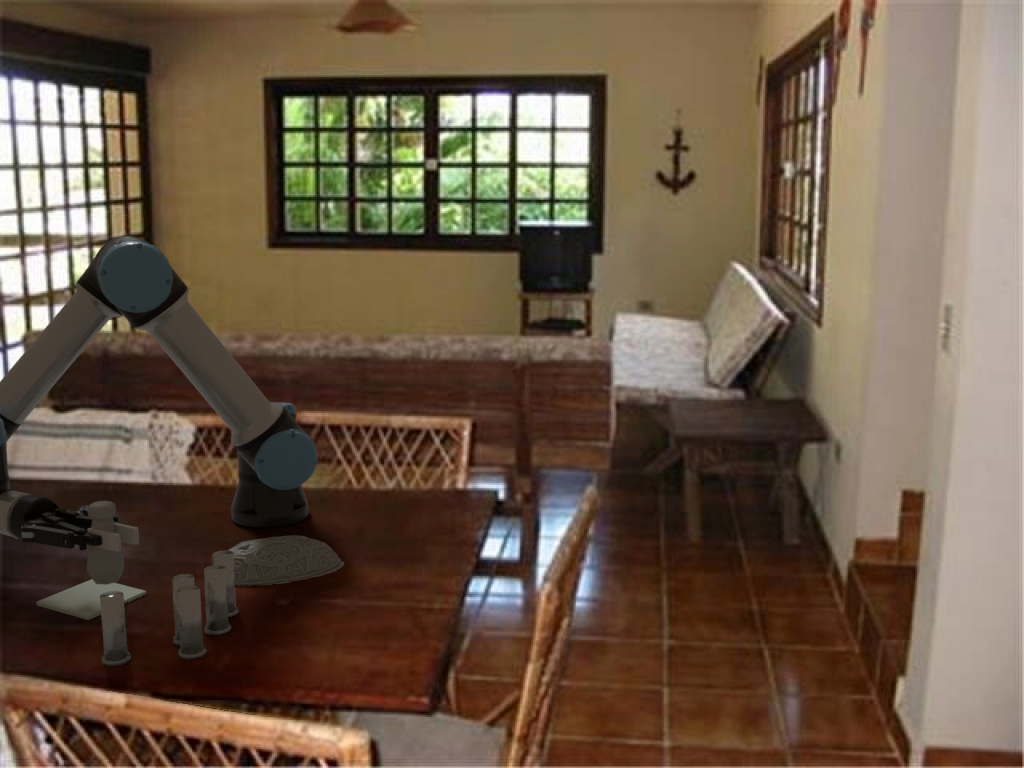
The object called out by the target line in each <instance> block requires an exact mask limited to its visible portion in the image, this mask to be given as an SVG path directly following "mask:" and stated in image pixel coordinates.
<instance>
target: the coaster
mask: <svg viewBox="0 0 1024 768" xmlns="http://www.w3.org/2000/svg"><path fill="white" fill-rule="evenodd" d="M110 591H120V592H122V593H123V595H124V605H126V604H128V603H130V602H133V601H135V600H137V599H139V598H141V597H143V595H144V596H146V595H147V591H146V590H144V589H139V588H136V587H132V586H129V585H125V584H121V583H118V582H114V583H111V584H107V585H104V584H96V583H95V582H94V581H93V579H92V578H91V579H88V580H87V581H85V582H82V583H79V584H76V585H75V586H72V587H70V588H67V589H64V590H63V591H59V592H57V593H54V594H52V595H50V596H47V597H45V598H42V599H40V600H38V601H35V602H36V606H37V607H38V606H39V607H42V608H44V609H49V610H52V611H55V612H58V613H63V614H66V615H70V616H73V617H76V618H81V619H83V620H87V621H89V620H92V619H94V618H96V617H98V616H101V606H100V595H101V594H103V593H106V592H110ZM145 594H146V595H145ZM138 597H139V598H138ZM136 598H137V599H136ZM134 599H135V600H134ZM127 602H128V603H127ZM125 603H126V604H125Z"/></svg>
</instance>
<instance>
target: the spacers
mask: <svg viewBox="0 0 1024 768" xmlns="http://www.w3.org/2000/svg"><path fill="white" fill-rule="evenodd" d="M211 556H212V565H210V566H207V567H205V568H203V580H204V599H205V601H204V602H205V615H206V618H205V619H206V625H205V626H204V627H203V618H202V615H203V614H202V601H201V587H199V586H198V585H196V583H195V576H194V575H193V574H190V573H182V574H177V575H174V576H173V577H172V578H171V581H172V583H171V585H172V601H173V603H172V604H173V614H174V615H173V617H174V630H175V631H174V633H175V635H174V636H173V638H172V643H173V645H174V646H178V647H180V648H179V649H178V651H177V655H178V658H179V659H181V660H183V661H184V660H186V661H192V660H191V659H194V660H197V659H196V658H198V659H200V658H199V657H201V656H203V655H204V654H206V655H207V653H206V652H207V647H206V646H205V645H204V637H203V636H204V634H205V633H206V634H205V635H207V634H208V635H207V636H210V635H220V634H224V633H227V632H229V631H230V630H231V631H232V624H231V623H229V618H228V617H231V618H233V617H232V616H234V615H236V616H238V615H239V614H238V612H239V613H240V611H239V610H240V609H239V607H238V606H237V599H236V598H237V597H236V586H235V577H234V558H233V552H232V551H228V550H226V549H225V550H218V551H215V552H213V553H212V555H211ZM100 606H101V615H100V619H101V630H102V641H103V642H102V643H103V644H102V645H103V655H102V657H101V664H102V665H103V666H106V667H118V666H123V665H126V664H128V663H129V662H130V661H131V659H132V655H131V652H129V651H128V637H127V625H126V611H125V604H124V595H123V593H122V592H120V591H110V592H106V593H103V594H101V595H100ZM237 614H238V615H237ZM234 617H235V616H234ZM203 628H204V629H203ZM203 630H204V634H203ZM231 631H230V632H231ZM230 632H229V633H230ZM227 634H228V633H227ZM224 635H225V634H224ZM220 636H221V635H220ZM203 657H204V656H203ZM201 658H202V657H201ZM127 662H128V663H127ZM125 663H126V664H125Z"/></svg>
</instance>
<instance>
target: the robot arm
mask: <svg viewBox="0 0 1024 768" xmlns="http://www.w3.org/2000/svg"><path fill="white" fill-rule="evenodd" d="M75 287H76V288H75V292H74V294H73V295H72V296H71V297H70V298H69V300H68V301H66V303H65V304H64V305H63V306H62V308H61V309H60V310H59V311H58V313H56V315H55V316H54V317H53V318H52V320H51V321H50V322H49V323H48V324H47V326H45V328H44V329H43V330H42V331H41V333H40V334H39V335H38V336H37V337H36V338H35V340H34V341H32V343H31V344H30V345H29V347H28V348H27V349H26V350H25V352H23V354H22V355H21V356H20V357H19V358H18V360H17V361H16V362H15V363H14V365H13V366H12V367H11V368H10V369H9V371H7V373H6V374H5V375H4V376H3V378H2V379H1V380H0V535H3V536H7V537H13V539H14V540H15V539H16V540H18V539H19V540H21V541H22V543H34V544H35V543H36V544H42V545H47V546H53V547H58V548H63V549H68V550H69V549H70V550H71V549H73V548H75V547H76V546H75V545H77V546H78V548H79V551H86V550H87V549H88V547H87V546H89V545H90V546H94V547H98V548H103V549H107V550H111V551H115V552H119V551H121V552H122V543H126V544H129V545H134V546H137V545H139V544H140V539H139V538H140V537H139V536H140V535H139V527H137V526H132V525H128V524H123V523H120V522H119V516H118V515H115V516H114V517H113V520H114V526H115V531H116V533H113V532H108V531H104V530H99V529H93V528H91V526H92V519H90V518H89V517H88V506H89V505H82V506H80V508H79V510H78V511H73V510H70V509H65V508H63V507H62V508H60V507H59V506H58V505H57V504H56V502H55V501H54V500H53V499H51V498H49V497H44V496H39V495H35V494H31V493H27V492H20V491H17V490H12V489H11V487H10V475H9V464H8V463H9V462H8V461H9V460H8V441H9V440H10V439H11V437H13V435H14V434H15V433H16V431H17V430H18V429H19V428H20V426H21V425H22V423H23V422H24V421H25V420H26V419H27V417H28V416H29V415H30V414H31V413H32V412H33V410H34V409H35V408H36V407H37V405H38V404H39V403H40V402H41V401H42V400H43V399H44V398H45V397H46V395H47V394H48V393H49V392H50V391H51V390H52V389H53V387H54V386H55V384H57V382H58V381H59V380H60V379H61V378H62V376H63V375H64V374H65V373H66V371H68V369H69V368H70V367H71V365H72V364H73V363H74V362H76V359H77V358H78V357H80V355H81V354H82V353H83V352H84V350H85V349H86V348H87V347H88V346H89V345H90V343H91V342H92V341H93V340H94V339H95V337H96V336H97V335H98V333H100V332H101V330H102V329H103V328H104V327H105V325H106V324H107V323H108V322H109V321H110V320H111V318H116V317H117V318H118V317H120V316H123V317H124V318H125V319H126V320H127V321H128V323H129V324H130V326H131V327H132V328H133V329H134V330H140V331H146V332H148V333H149V334H150V335H151V336H152V337H153V339H154V340H155V342H157V344H158V345H159V346H160V347H161V349H163V351H164V352H165V353H166V354H167V355H168V357H169V358H170V359H171V360H172V361H173V362H174V364H175V365H176V367H178V369H179V370H180V371H181V372H182V373H183V374H184V376H185V377H186V379H187V380H189V382H190V383H191V384H192V386H194V387H195V389H196V390H197V392H198V393H199V394H200V395H201V396H202V397H203V398H204V400H205V401H206V402H207V404H209V405H210V407H211V409H213V410H214V411H215V413H216V414H217V415H218V416H219V417H220V418H221V420H222V421H223V423H225V425H226V426H227V427H228V428H229V430H231V439H230V443H231V445H232V446H233V447H234V449H235V450H236V451H237V465H238V466H237V469H238V470H237V471H238V483H237V485H236V490H235V493H234V497H233V499H232V504H231V509H230V513H231V520H232V522H233V523H235V524H237V525H240V526H244V527H247V528H248V527H249V528H276V527H283V526H289V525H293V524H297V523H300V522H301V521H303V520H304V519H306V518H307V517H308V516H309V502H308V499H307V497H306V494H305V491H304V489H303V484H305V483H306V482H307V481H308V480H309V479H311V477H312V475H313V474H314V473H315V470H316V468H317V465H318V460H319V459H318V457H319V456H318V450H317V446H316V444H315V441H314V440H313V438H312V437H311V436H310V435H309V434H307V433H306V432H305V431H304V430H303V428H302V427H301V426H300V425H299V424H298V422H297V417H298V413H297V411H296V406H295V405H294V404H293V403H291V402H272V401H269V400H268V398H267V397H266V395H264V393H263V392H262V391H261V389H260V388H259V387H258V386H257V385H256V384H255V382H254V380H252V378H251V377H249V375H248V374H247V372H246V371H245V370H244V368H243V367H242V366H241V365H240V364H239V363H238V361H237V360H236V359H235V358H234V357H233V355H232V354H231V353H230V352H229V351H228V349H227V347H225V345H224V344H223V342H221V340H220V338H218V337H217V335H216V334H215V333H214V332H213V331H212V329H211V328H210V327H209V325H208V324H207V323H206V322H205V320H204V319H203V318H202V317H201V316H200V314H199V313H198V312H197V311H196V309H195V308H194V307H193V306H192V305H191V303H190V302H189V297H188V296H189V290H190V289H189V287H188V286H187V284H186V283H185V282H184V281H183V279H182V278H181V277H180V276H179V275H178V273H177V272H176V271H175V270H174V268H173V267H172V266H171V264H170V261H169V260H168V258H167V256H166V254H164V253H163V252H162V251H161V250H160V249H159V248H158V247H157V246H154V245H153V244H152V243H149V242H148V241H147V240H145V239H143V238H140V237H138V236H134V235H120V236H117V237H114V238H112V239H110V240H108V241H107V242H106V243H104V244H103V245H102V246H101V247H100V249H99V250H98V251H97V252H96V255H95V256H94V257H93V259H92V261H91V262H90V263H89V265H88V266H87V268H86V269H85V270H84V272H83V274H81V276H80V277H79V278H78V279H77V281H76V282H75Z"/></svg>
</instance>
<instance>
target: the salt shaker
mask: <svg viewBox="0 0 1024 768" xmlns="http://www.w3.org/2000/svg"><path fill="white" fill-rule="evenodd" d="M87 506H88V517H89V518H90V519H92V526H91V528H93V529H99V530H104V531H108V532H113V533H116V531H115V526H114V520H113V517H114V516H115V515H116V514H117V507H116V503H114V502H112V501H111V500H110V501H109V500H98V501H94V502H91V504H90V503H89V505H87ZM116 516H117V515H116ZM86 560H87V561H86V571H87V574H88V575H89V576H90V577H91V579H93V581H94V582H95V583H96V584H104V585H107V584H111V583H118V582H119V580H120V579H121V576H122V574H123V571H124V569H125V560H124V556H123V553H122V551H119V552H115V551H111V550H107V549H103V548H98V547H94V546H90V545H88V553H87V559H86Z"/></svg>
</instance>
